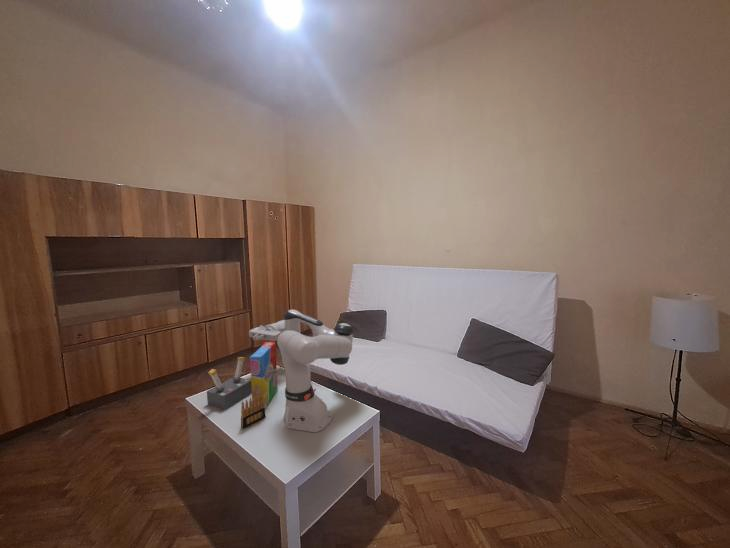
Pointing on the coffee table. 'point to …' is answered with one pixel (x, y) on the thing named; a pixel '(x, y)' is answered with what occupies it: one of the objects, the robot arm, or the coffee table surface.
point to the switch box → (229, 393)
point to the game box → (264, 372)
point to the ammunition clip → (252, 412)
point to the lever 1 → (216, 380)
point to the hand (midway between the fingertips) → (254, 338)
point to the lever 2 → (238, 369)
